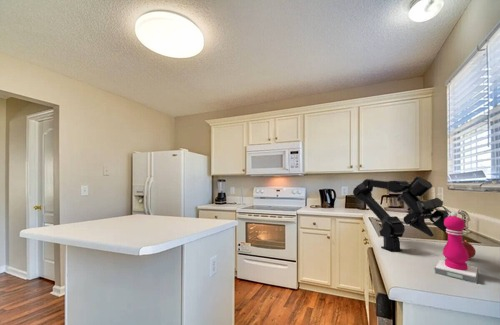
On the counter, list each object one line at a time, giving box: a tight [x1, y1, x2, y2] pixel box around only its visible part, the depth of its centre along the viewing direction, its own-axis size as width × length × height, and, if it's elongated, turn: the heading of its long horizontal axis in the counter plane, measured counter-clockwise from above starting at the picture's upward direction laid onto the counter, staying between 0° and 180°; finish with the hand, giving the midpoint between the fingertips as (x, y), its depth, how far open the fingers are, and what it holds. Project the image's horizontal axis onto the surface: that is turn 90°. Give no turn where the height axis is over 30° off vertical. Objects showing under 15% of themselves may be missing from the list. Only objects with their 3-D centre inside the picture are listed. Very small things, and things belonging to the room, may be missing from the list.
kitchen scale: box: [434, 259, 479, 284], centre depth 85 cm, size 11×11×2 cm
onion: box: [462, 239, 477, 259], centre depth 100 cm, size 6×6×8 cm
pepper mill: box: [442, 211, 470, 270], centre depth 86 cm, size 7×7×20 cm
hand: (441, 235), depth 90 cm, fingers open, 9 cm apart
